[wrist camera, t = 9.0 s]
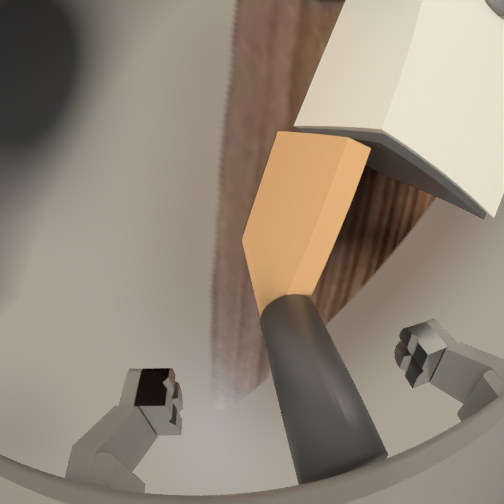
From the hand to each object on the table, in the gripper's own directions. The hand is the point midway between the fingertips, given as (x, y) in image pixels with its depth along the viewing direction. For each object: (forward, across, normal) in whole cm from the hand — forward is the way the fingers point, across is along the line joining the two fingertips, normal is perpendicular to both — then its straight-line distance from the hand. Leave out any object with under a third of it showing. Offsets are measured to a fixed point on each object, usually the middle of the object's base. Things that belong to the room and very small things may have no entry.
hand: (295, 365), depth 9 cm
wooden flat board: (+14, +1, +3) cm, 15 cm away
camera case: (+15, +11, +12) cm, 22 cm away
